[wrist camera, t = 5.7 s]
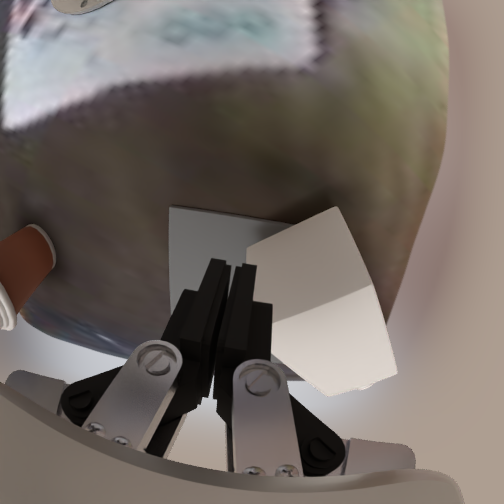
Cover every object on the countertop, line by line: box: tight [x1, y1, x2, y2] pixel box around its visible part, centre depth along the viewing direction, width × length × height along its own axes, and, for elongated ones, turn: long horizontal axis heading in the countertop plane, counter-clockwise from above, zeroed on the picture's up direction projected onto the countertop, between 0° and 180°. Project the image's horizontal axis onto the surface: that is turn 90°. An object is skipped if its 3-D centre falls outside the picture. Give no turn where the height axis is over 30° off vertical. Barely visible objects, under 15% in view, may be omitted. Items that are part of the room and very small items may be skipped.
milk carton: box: [246, 206, 398, 397], centre depth 21 cm, size 7×7×19 cm
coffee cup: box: [0, 224, 56, 331], centre depth 20 cm, size 9×9×12 cm
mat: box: [169, 205, 294, 364], centre depth 26 cm, size 17×13×1 cm
